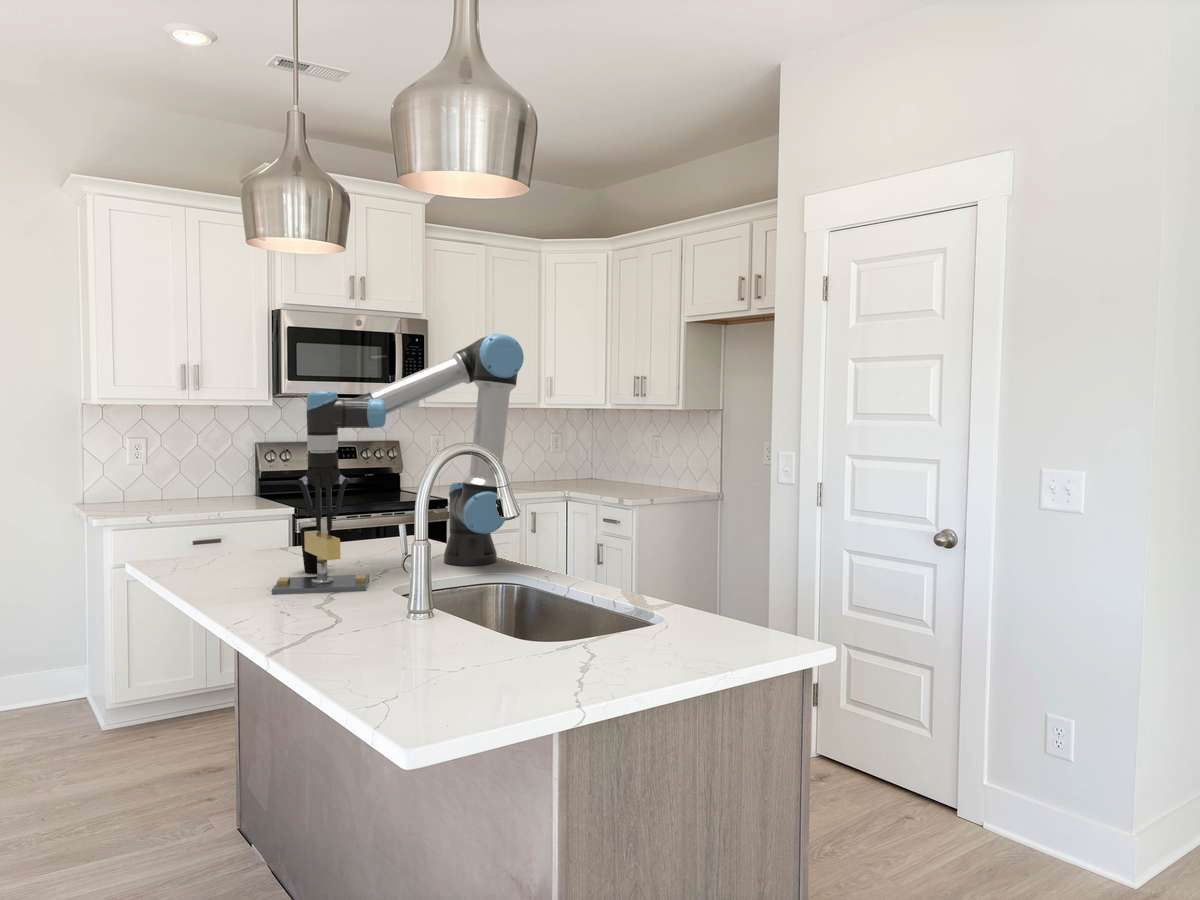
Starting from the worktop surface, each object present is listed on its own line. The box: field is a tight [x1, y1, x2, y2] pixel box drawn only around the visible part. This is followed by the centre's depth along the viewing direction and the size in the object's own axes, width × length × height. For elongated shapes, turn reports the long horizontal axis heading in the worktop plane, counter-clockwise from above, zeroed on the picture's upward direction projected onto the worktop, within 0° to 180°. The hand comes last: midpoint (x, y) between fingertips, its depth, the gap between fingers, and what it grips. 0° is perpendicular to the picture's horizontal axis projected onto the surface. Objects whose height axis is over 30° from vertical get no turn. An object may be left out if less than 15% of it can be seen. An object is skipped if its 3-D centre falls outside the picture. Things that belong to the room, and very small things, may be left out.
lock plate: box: [271, 561, 371, 595], centre depth 221 cm, size 22×14×6 cm, turn 101°
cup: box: [299, 525, 330, 575], centre depth 238 cm, size 8×8×12 cm
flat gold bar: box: [304, 531, 341, 562], centre depth 220 cm, size 3×16×7 cm, turn 38°
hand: (324, 542), depth 227 cm, fingers closed
